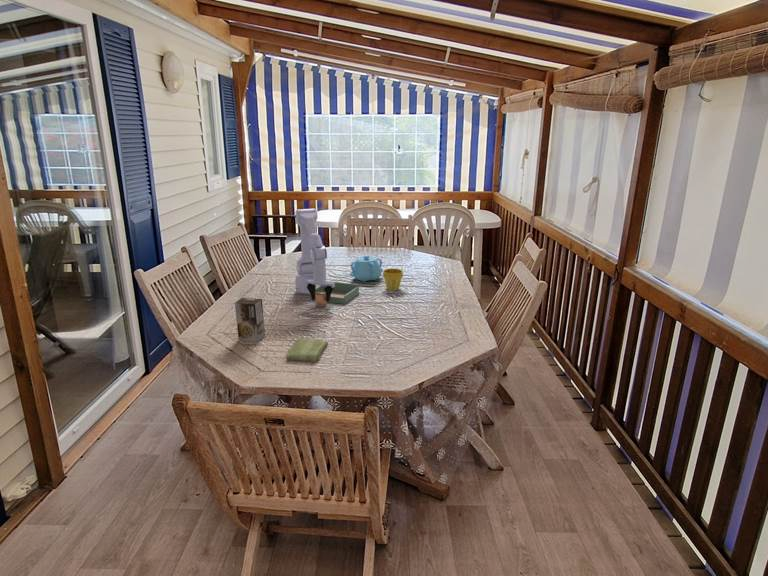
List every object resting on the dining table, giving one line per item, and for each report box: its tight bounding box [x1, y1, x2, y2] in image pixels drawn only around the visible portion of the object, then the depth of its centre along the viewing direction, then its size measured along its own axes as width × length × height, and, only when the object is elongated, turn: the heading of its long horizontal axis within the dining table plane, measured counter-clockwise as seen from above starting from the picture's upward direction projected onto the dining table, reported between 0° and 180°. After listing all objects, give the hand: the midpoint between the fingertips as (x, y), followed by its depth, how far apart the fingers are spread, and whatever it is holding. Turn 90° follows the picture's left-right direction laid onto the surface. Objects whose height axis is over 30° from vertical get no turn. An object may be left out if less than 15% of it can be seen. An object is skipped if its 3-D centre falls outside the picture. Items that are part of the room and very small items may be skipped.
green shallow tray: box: [309, 280, 360, 305], centre depth 254 cm, size 19×17×5 cm
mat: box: [304, 300, 337, 312], centre depth 241 cm, size 12×10×1 cm
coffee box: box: [234, 297, 266, 342], centre depth 202 cm, size 9×6×16 cm
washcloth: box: [285, 337, 329, 363], centre depth 191 cm, size 13×18×3 cm
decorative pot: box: [349, 254, 384, 283], centre depth 283 cm, size 16×16×14 cm
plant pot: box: [382, 268, 404, 291], centre depth 266 cm, size 10×10×10 cm
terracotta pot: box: [315, 292, 328, 307], centre depth 240 cm, size 5×5×6 cm
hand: (320, 300), depth 240 cm, fingers open, 7 cm apart
